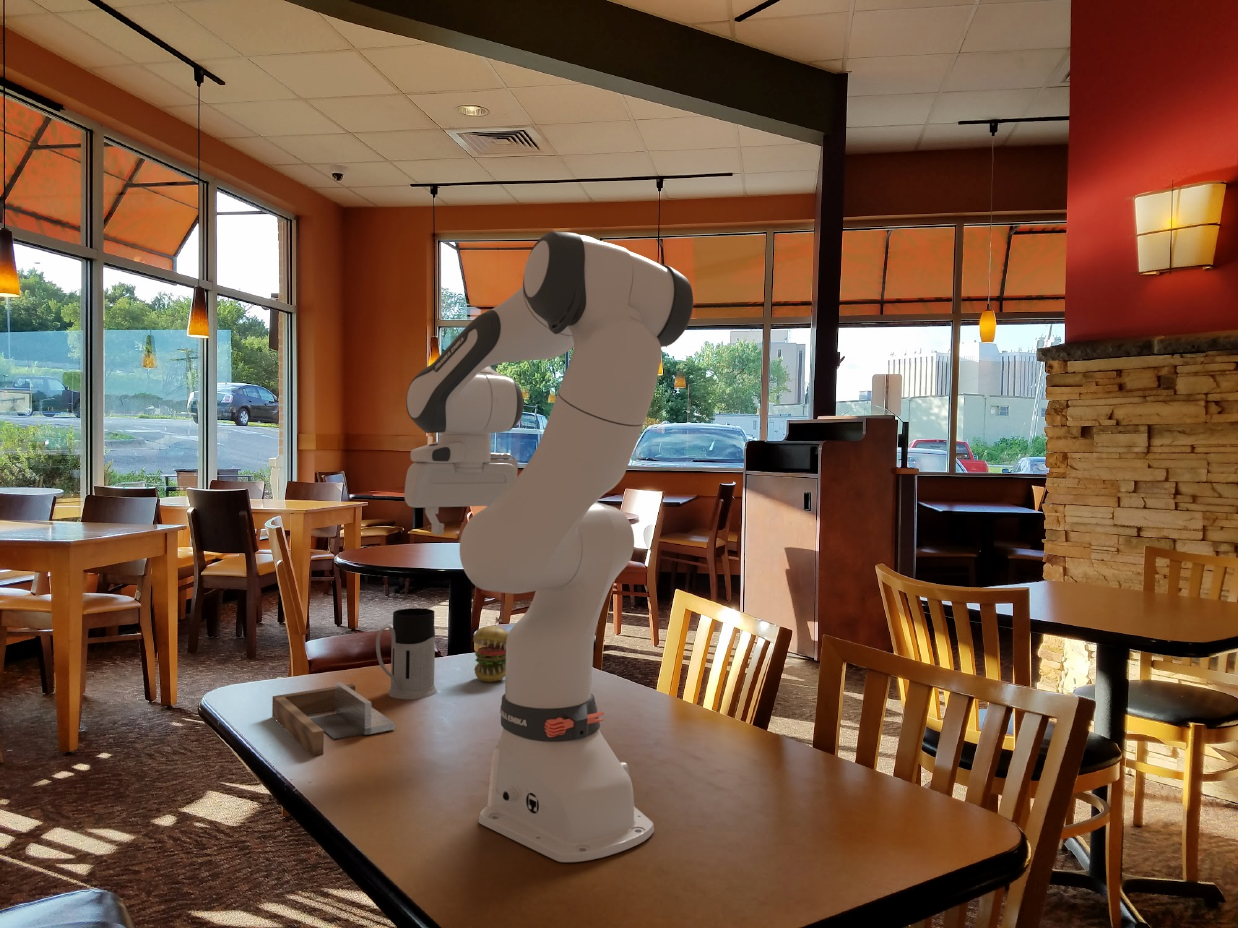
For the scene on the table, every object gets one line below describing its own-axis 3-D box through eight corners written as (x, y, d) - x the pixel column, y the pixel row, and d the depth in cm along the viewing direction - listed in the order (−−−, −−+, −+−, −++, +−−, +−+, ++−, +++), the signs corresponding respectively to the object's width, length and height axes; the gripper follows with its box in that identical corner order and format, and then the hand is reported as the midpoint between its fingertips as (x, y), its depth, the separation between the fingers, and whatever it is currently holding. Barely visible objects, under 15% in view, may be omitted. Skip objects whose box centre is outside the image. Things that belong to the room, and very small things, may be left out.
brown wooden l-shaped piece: (400, 738, 131) (401, 715, 130) (313, 755, 122) (313, 732, 122) (351, 703, 148) (352, 683, 148) (272, 716, 139) (272, 696, 139)
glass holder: (446, 689, 157) (447, 610, 157) (395, 709, 145) (397, 623, 144) (409, 683, 161) (410, 605, 161) (356, 702, 148) (358, 618, 148)
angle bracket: (334, 711, 142) (335, 682, 142) (363, 706, 145) (363, 678, 145) (364, 734, 131) (365, 703, 131) (395, 729, 134) (395, 698, 134)
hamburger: (467, 682, 162) (468, 621, 162) (479, 673, 169) (480, 614, 169) (505, 685, 161) (506, 623, 161) (515, 675, 168) (517, 616, 168)
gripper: (508, 453, 152) (507, 528, 152) (401, 450, 139) (399, 533, 139) (526, 453, 146) (524, 532, 147) (417, 451, 134) (415, 537, 134)
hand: (463, 532), depth 143 cm, fingers open, 8 cm apart
